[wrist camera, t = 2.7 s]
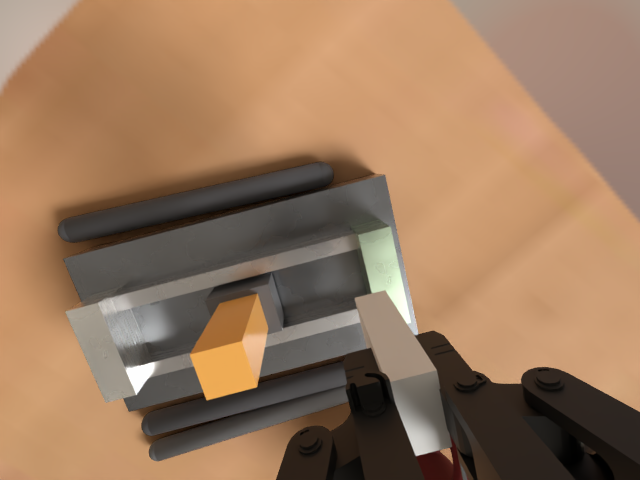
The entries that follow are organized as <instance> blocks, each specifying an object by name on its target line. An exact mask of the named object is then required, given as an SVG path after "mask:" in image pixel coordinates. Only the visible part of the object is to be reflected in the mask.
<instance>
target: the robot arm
mask: <svg viewBox="0 0 640 480" xmlns="http://www.w3.org/2000/svg"><path fill="white" fill-rule="evenodd" d="M355 302H356V306H357V310H358V314H359V318H360V322H361V326H362V330H363V334H364V338H365V343H366V347H367V349H363V350H359V351H355V352H351V353H348V354H346V356H345V359H344V361H343V365H344V370H345V375H346V381H347V384H346V394H347V397H348V401H349V405H350V409H351V413H350V416H349V417H348V419H347V420H346V421H345V422H344V423H343V424H342V425H340V426H339V427H337V428H336V429H334V430H332V431H329V430H328V429H326V428H325V427H323V426H310V427H306V428H304V429H302V430H300V431H298V432H297V433H296V434H295V435H294V436H293V437H292V438H291V440H290V441H289V443H288V445H287V448H286V451H285V454H284V457H283V460H282V463H281V466H280V469H279V472H278V475H277V478H276V480H425V479H424V476H423V473H422V471H421V468H420V466H419V463H418V461H417V458H416V456H418V455H422V454H426V453H430V452H434V451H438V450H442V449H446V448H450V447H452V443H451V438H450V435H451V437H452V439H453V441H454V443H455V444H456V448H457V453H458V458H459V463H460V468H461V473H462V478H463V480H467V477H468V479H469V480H640V412H639V411H637V410H635V409H633V408H631V407H629V406H628V405H626V404H624V403H622V402H620V401H618V400H617V399H615V398H613V397H611V396H609V395H607V394H605V393H604V392H602V391H600V390H598V389H596V388H594V387H592V386H591V385H589V384H587V383H585V382H583V381H581V380H579V379H578V378H576V377H574V376H572V375H570V374H568V373H566V372H564V371H561V370H559V369H554V368H549V367H538V368H533V369H530V370H528V371H526V372H525V373H524V374H523V375H522V378H521V383H522V384H498V383H492V382H491V380H490V379H489V378H487V377H486V376H485V375H484V374H482V373H479V372H476V371H472V369H471V368H470V367H469V366H468V365H467V363H466V362H465V361H464V360H463V358H462V357H461V356H460V355H459V354H458V352H457V351H455V349H454V347H453V346H452V345H451V344H450V342H449V341H448V340H447V339H446V338H445V336H444V335H442V334H440V333H438V332H435V331H430V332H426V333H422V334H418V335H414V334H413V332H412V331H411V329H410V328H409V326H408V325H407V323H406V322H405V320H404V318H403V317H402V315H401V314H400V312H399V311H398V309H397V308H396V306H395V305H394V303H393V301H392V300H391V298H390V297H389V295H388V294H387V292H386V291H385V290H384V291H380V292H376V293H372V294H368V295H364V296H360V297H356V298H355ZM466 475H467V476H466Z"/></svg>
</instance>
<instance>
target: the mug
mask: <svg viewBox="0 0 640 480" xmlns="http://www.w3.org/2000/svg"><path fill="white" fill-rule="evenodd" d="M450 438H451V443H452V447H450V449H451V453H452V458H453V464H452V463H451V462H450V460H449V459H448V458H447V457H446V456H444V455H443V454H442V453H441V452H440V450H438V451H434V452H430V453H426V454H422V455H418V456H416V458H417V461H418V463H419V466H420V468H421V471H422V473H423V476H424V479H425V480H463V478H462V473H461V468H460V463H459V458H458V453H457V448H456V444H455V443H454V441H453V439H452V437H451V435H450ZM466 476H467V475H466ZM467 480H469V479H468V477H467Z"/></svg>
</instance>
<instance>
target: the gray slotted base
mask: <svg viewBox="0 0 640 480" xmlns="http://www.w3.org/2000/svg"><path fill="white" fill-rule="evenodd" d="M63 260H64V262H65V264H66V267H67V269H68V271H69V274H70V276H71V278H72V281H73V283H74V285H75V288H76V290H77V292H78V295H79V297H80V299H81V302H80V303H78V304H77V305H75V306H73V307H72V308H70V309H69V310H67V311H65V313H66V315H67V317H68V319H69V322H70V324H71V326H72V328H73V331H74V333H75V335H76V337H77V340H78V342H79V344H80V346H81V348H82V351H83V353H84V355H85V357H86V360H87V362H88V364H89V366H90V369H91V371H92V373H93V375H94V378H95V380H96V382H97V384H98V387H99V389H100V391H101V393H102V396H103V398H104V400H105V402H106V403H107V402H111V401H115V400H118V399H122V398H123V399H124V401H125V404H126V406H127V408H128V411H133V410H137V409H141V408H145V407H148V406H152V405H156V404H160V403H164V402H168V401H171V400H175V399H179V398H183V397H187V396H190V395H194V394H198V393H202V392H203V389H202V387H201V384H200V381H199V379H198V376H197V373H196V370H195V368H194V365H193V362H192V360H191V357H190V353H191V352H192V350H193V348H194V346H195V345H196V343H197V341H198V340H199V338H200V336H201V334H202V333H203V331H204V329H205V328H206V326H207V324H208V322H209V321H210V319H211V317H210V314H209V311H208V308H207V305H206V302H205V300H206V298H207V297H208V296H209V294H210V293H211V291H212V290H213V289H214V287H218V286H222V285H225V284H229V283H233V282H237V281H241V280H245V279H248V278H252V277H256V276H260V275H264V274H267V273H272V276H273V279H274V283H275V286H276V289H277V293H278V296H279V299H280V303H281V306H282V309H283V313H284V321H283V331H280V332H276V333H272V334H268V335H267V338H266V344H265V349H264V354H263V359H262V365H261V370H260V375H259V377H263V376H266V375H270V374H274V373H278V372H282V371H285V370H289V369H293V368H297V367H301V366H304V365H308V364H312V363H316V362H320V361H323V360H327V359H331V358H335V357H339V356H342V355H346V354H348V353H351V352H355V351H359V350H363V349H367V347H366V343H365V338H364V334H363V330H362V326H361V322H360V318H359V314H358V310H357V306H356V302H355V298H356V297H360V296H364V295H368V294H372V293H376V292H380V291H384V290H385V291H386V292H387V294H388V295H389V297H390V298H391V300H392V301H393V303H394V305H395V306H396V308H397V309H398V311H399V312H400V314H401V315H402V317H403V318H404V320H405V322H406V323H407V325H408V326H409V328H410V329H411V331H412V332H413V334H414V335H418V329H417V325H416V320H415V315H414V310H413V306H412V301H411V296H410V291H409V287H408V282H407V277H406V272H405V267H404V263H403V258H402V253H401V248H400V244H399V239H398V234H397V229H396V225H395V220H394V215H393V210H392V206H391V201H390V196H389V191H388V187H387V182H386V177H385V175H382V174H373V175H369V176H365V177H361V178H358V179H354V180H350V181H346V182H342V183H339V184H335V185H331V186H327V187H323V188H319V189H316V190H312V191H308V192H304V193H300V194H296V195H293V196H289V197H285V198H281V199H277V200H273V201H270V202H266V203H262V204H258V205H254V206H250V207H247V208H243V209H239V210H235V211H231V212H227V213H224V214H220V215H216V216H212V217H208V218H204V219H201V220H197V221H193V222H189V223H185V224H181V225H178V226H174V227H170V228H166V229H162V230H159V231H155V232H151V233H147V234H143V235H139V236H136V237H132V238H128V239H124V240H120V241H116V242H113V243H109V244H105V245H101V246H97V247H93V248H90V249H87V250H84V251H82V252H79V253H77V254H74V255H72V256H69V257H67V258H64V259H63Z"/></svg>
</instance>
